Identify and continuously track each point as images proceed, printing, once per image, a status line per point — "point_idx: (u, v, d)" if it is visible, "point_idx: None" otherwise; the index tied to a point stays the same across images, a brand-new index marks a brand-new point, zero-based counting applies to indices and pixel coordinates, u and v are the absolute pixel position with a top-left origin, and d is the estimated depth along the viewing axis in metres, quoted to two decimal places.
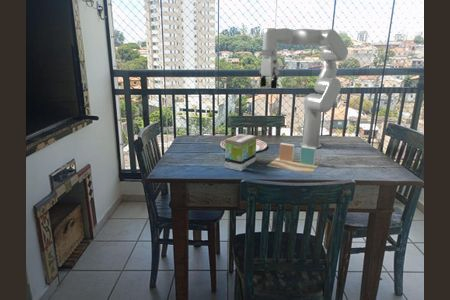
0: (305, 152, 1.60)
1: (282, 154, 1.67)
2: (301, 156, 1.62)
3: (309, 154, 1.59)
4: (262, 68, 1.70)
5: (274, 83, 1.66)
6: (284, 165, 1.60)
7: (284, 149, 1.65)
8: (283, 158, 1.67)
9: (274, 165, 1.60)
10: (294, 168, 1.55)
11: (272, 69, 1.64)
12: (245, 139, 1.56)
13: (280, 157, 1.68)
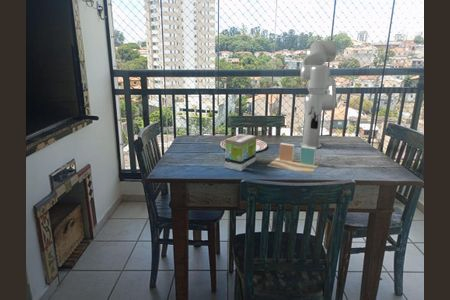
0: (305, 152, 1.60)
1: (282, 154, 1.67)
2: (301, 156, 1.62)
3: (309, 154, 1.59)
4: (319, 108, 1.57)
5: None
6: (284, 165, 1.60)
7: (284, 149, 1.65)
8: (283, 158, 1.67)
9: (274, 165, 1.60)
10: (294, 168, 1.55)
11: None
12: (245, 139, 1.56)
13: (280, 157, 1.68)
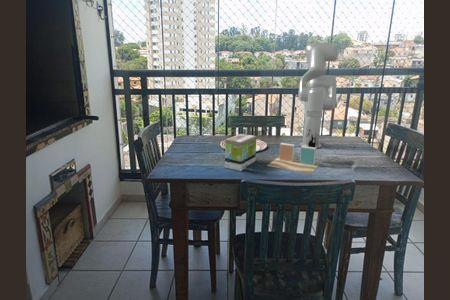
0: (305, 152, 1.60)
1: (282, 154, 1.67)
2: (301, 156, 1.62)
3: (309, 154, 1.59)
4: (316, 130, 1.59)
5: None
6: (284, 165, 1.60)
7: (284, 149, 1.65)
8: (283, 158, 1.67)
9: (274, 165, 1.60)
10: (294, 168, 1.55)
11: None
12: (245, 139, 1.56)
13: (280, 157, 1.68)
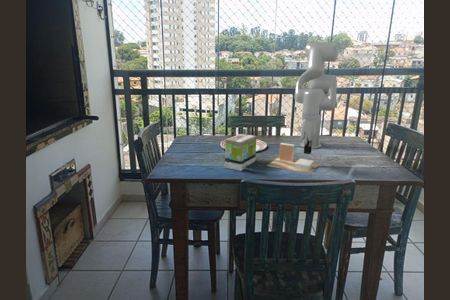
0: None
1: (282, 154, 1.67)
2: None
3: None
4: (312, 133, 1.53)
5: None
6: (284, 165, 1.60)
7: (284, 149, 1.65)
8: (283, 158, 1.67)
9: (274, 165, 1.60)
10: (294, 168, 1.55)
11: None
12: (245, 139, 1.56)
13: (280, 157, 1.68)
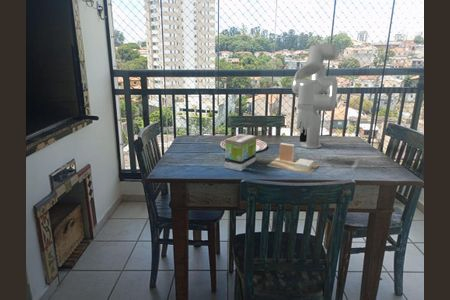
0: None
1: (282, 154, 1.67)
2: None
3: None
4: (307, 122, 1.62)
5: None
6: (284, 165, 1.60)
7: (284, 149, 1.65)
8: (283, 158, 1.67)
9: (274, 165, 1.60)
10: (294, 168, 1.55)
11: None
12: (245, 139, 1.56)
13: (280, 157, 1.68)
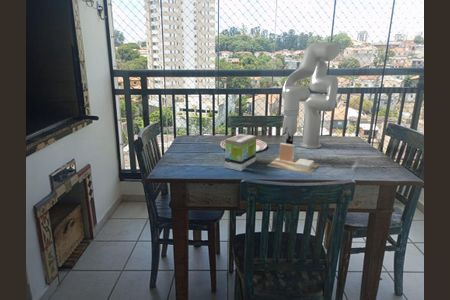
0: None
1: (282, 154, 1.67)
2: None
3: None
4: (292, 128, 1.62)
5: None
6: (284, 165, 1.60)
7: (284, 149, 1.65)
8: (283, 158, 1.67)
9: (274, 165, 1.60)
10: (294, 168, 1.55)
11: None
12: (245, 139, 1.56)
13: (280, 157, 1.68)
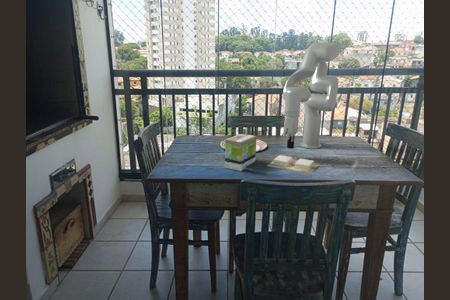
0: None
1: None
2: None
3: None
4: (294, 129, 1.64)
5: None
6: None
7: None
8: None
9: (274, 165, 1.60)
10: (294, 168, 1.55)
11: None
12: (245, 139, 1.56)
13: None
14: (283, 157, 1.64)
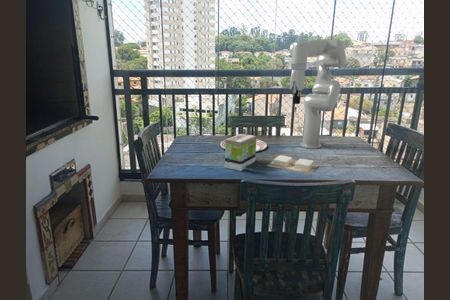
0: None
1: None
2: None
3: None
4: (300, 83, 1.62)
5: None
6: None
7: None
8: None
9: (274, 165, 1.60)
10: (294, 168, 1.55)
11: None
12: (245, 139, 1.56)
13: None
14: (283, 157, 1.64)
